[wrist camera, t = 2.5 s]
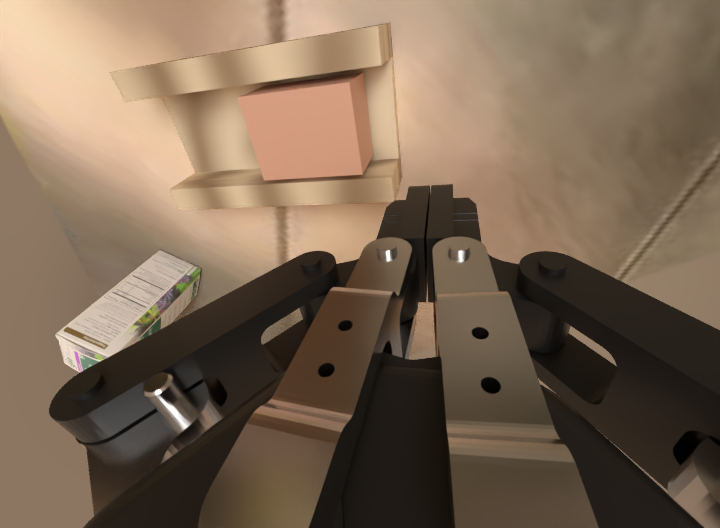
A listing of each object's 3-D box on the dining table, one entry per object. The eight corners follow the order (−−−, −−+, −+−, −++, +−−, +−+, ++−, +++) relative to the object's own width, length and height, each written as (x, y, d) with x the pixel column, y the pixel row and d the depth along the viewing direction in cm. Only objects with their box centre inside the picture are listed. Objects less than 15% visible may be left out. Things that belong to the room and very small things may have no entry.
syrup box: (198, 295, 46) (116, 389, 35) (157, 277, 46) (60, 365, 34) (202, 267, 42) (112, 361, 31) (158, 247, 42) (50, 334, 31)
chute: (390, 23, 23) (377, 25, 19) (401, 176, 30) (394, 202, 26) (156, 63, 28) (109, 72, 25) (209, 187, 35) (179, 209, 31)
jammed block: (363, 72, 24) (349, 82, 21) (373, 154, 28) (362, 174, 24) (264, 85, 26) (237, 97, 23) (285, 160, 30) (263, 180, 26)
